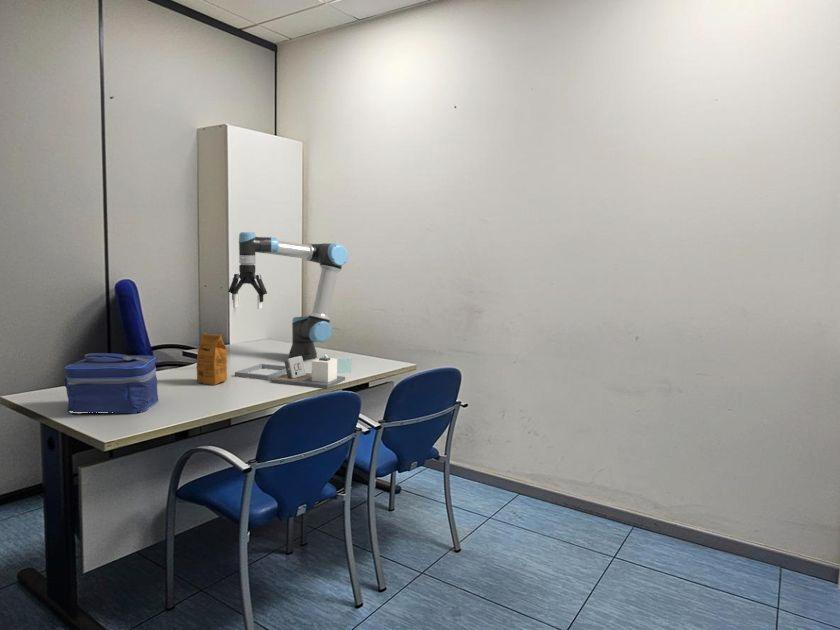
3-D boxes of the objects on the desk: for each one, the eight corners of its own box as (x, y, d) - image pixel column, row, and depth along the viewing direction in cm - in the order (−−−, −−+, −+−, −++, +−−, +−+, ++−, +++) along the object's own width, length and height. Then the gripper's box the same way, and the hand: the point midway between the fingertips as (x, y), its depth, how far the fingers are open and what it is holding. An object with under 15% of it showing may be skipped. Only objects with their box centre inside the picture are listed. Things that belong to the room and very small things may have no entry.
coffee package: (210, 378, 258) (209, 331, 256) (230, 381, 253) (229, 333, 250) (192, 382, 250) (191, 333, 247) (213, 386, 244) (212, 336, 242)
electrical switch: (292, 379, 255) (291, 358, 254) (284, 378, 257) (282, 358, 257) (306, 375, 263) (305, 355, 262) (298, 375, 265) (296, 355, 265)
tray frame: (261, 367, 285) (261, 363, 285) (293, 370, 279) (293, 366, 279) (234, 376, 264) (234, 372, 264) (268, 379, 259) (268, 375, 258)
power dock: (291, 374, 271) (291, 351, 269) (345, 379, 262) (345, 356, 261) (271, 382, 254) (271, 357, 252) (327, 388, 245) (327, 362, 244)
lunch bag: (52, 416, 197) (49, 358, 194) (78, 400, 217) (76, 348, 215) (146, 414, 201) (144, 358, 199) (163, 399, 222) (162, 347, 220)
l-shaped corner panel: (351, 373, 278) (351, 358, 277) (326, 373, 275) (326, 358, 274) (347, 368, 290) (347, 353, 289) (324, 368, 286) (324, 354, 285)
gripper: (220, 263, 273) (221, 307, 276) (265, 265, 266) (265, 310, 268) (230, 263, 281) (230, 305, 283) (274, 265, 273) (274, 308, 275)
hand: (247, 308), depth 276 cm, fingers open, 13 cm apart
